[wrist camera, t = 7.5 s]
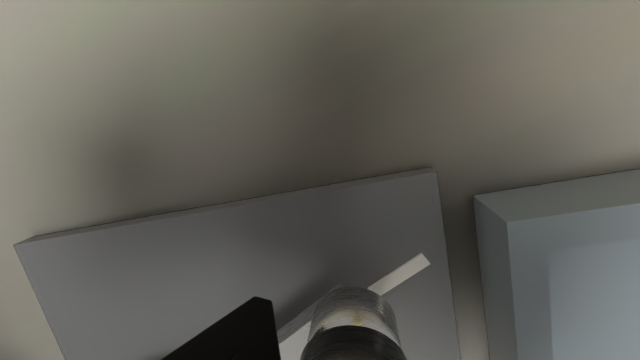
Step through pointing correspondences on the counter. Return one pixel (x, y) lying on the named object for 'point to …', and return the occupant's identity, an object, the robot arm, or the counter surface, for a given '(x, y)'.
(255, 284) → the crank base
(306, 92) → the counter surface
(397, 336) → the crank
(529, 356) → the tray
